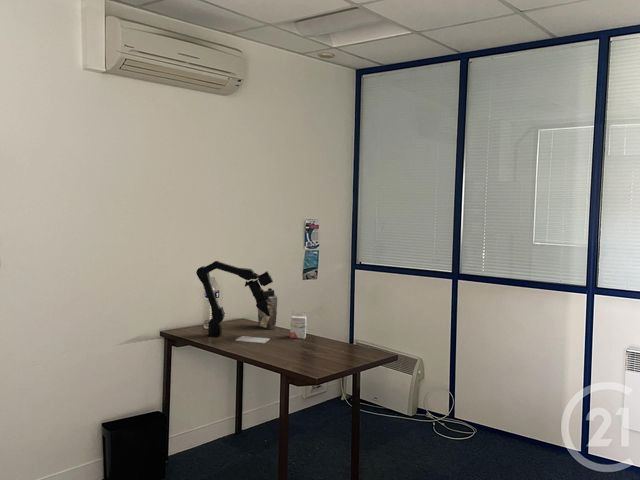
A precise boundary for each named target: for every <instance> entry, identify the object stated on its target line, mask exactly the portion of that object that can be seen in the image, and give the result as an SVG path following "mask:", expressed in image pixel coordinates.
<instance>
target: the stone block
mask: <svg viewBox="0 0 640 480" xmlns="http://www.w3.org/2000/svg"><path fill="white" fill-rule="evenodd" d="M268 298H269V299H267V301H268V300H269V302H270V303H273V304H274V305H273V308H272V311H271V314H270V317H269V320H268V323H267V326H266V327H262V326H260V324H261V321H262V318H263V315H264V313H263V312H262V311H261V310H260V309H257V318H258V319H257V320H258V325H257V326H258V327H260V328H263V329H267V330H275V328H276V325H277V314H278V312H277V311H278V296H277V295H276V294H275V296H274V297H268Z"/></svg>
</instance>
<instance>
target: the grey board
mask: <svg viewBox="0 0 640 480" xmlns="http://www.w3.org/2000/svg"><path fill="white" fill-rule="evenodd" d="M270 340H271V339H270V337H269V338H267V337H259V336H257V337H256V336H255V337H254V336H247V335H246V336H245V335H242V336H239V337H237V338H236V339H235V342H244V343H246V342H247V343H252V344H253V343H255V344H265V343H267V342H268V341H270Z"/></svg>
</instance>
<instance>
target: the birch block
mask: <svg viewBox="0 0 640 480" xmlns="http://www.w3.org/2000/svg"><path fill="white" fill-rule="evenodd" d="M273 305H274V304H273V303H270V302H268V306H267V307H268V311H269V314H271V311H272V308H273ZM269 317H270V316H267V315H266V314H265V313H264V315H263V318H262V321H261V324H260V326H262V327H261V328H263V327H266V326H267V323H268V320H269Z"/></svg>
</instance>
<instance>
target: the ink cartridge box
mask: <svg viewBox="0 0 640 480" xmlns="http://www.w3.org/2000/svg"><path fill="white" fill-rule="evenodd" d="M291 313H292V315H291V316H290V328H289V329H290V330H289V338H290V339H292V338H293V339H304V340H305V339H306V337H307V311H306V310H294V309H293V310H292V312H291Z"/></svg>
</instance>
